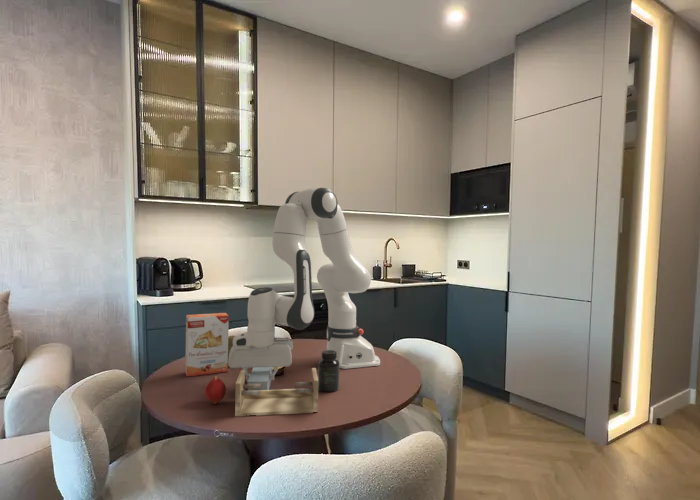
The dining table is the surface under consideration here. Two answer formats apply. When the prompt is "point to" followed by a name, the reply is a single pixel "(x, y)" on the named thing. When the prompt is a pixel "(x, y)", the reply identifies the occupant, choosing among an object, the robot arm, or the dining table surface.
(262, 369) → the light grey rectangular block
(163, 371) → the dining table surface
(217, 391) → the red round piece
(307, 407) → the tray
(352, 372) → the dining table surface
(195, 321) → the cracker box
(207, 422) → the dining table surface
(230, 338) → the olive double rounded piece
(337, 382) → the supplement bottle
